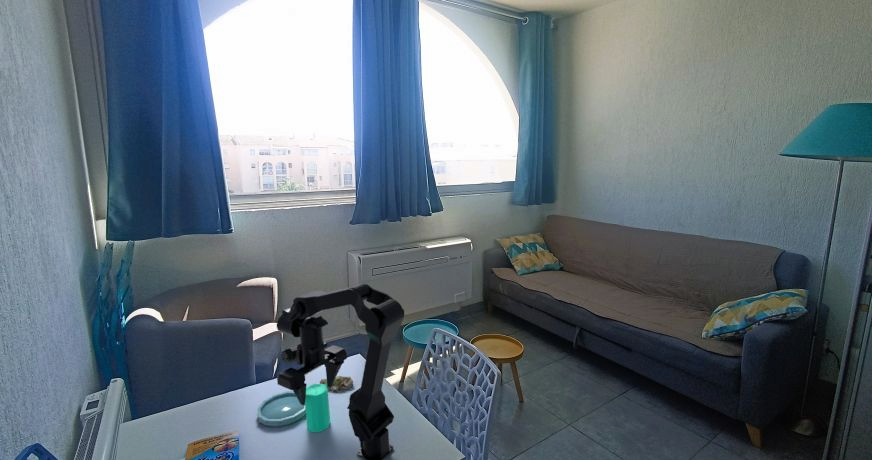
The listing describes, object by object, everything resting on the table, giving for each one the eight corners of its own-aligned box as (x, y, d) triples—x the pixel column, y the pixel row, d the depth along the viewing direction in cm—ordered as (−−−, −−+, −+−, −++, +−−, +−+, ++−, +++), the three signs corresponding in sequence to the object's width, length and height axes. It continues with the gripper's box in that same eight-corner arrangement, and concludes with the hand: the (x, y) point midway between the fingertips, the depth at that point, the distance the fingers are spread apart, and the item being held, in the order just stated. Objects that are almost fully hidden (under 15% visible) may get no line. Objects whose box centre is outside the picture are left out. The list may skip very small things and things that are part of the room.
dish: (320, 406, 115) (320, 399, 115) (279, 434, 103) (278, 427, 103) (289, 392, 122) (288, 386, 122) (247, 417, 111) (246, 410, 110)
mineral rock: (356, 371, 130) (350, 378, 122) (356, 385, 129) (350, 393, 121) (323, 373, 130) (315, 379, 122) (323, 387, 130) (315, 394, 122)
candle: (323, 433, 103) (320, 391, 101) (302, 430, 105) (299, 389, 103) (334, 419, 109) (331, 378, 107) (314, 416, 110) (310, 377, 108)
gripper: (318, 321, 115) (322, 371, 117) (260, 347, 99) (266, 404, 102) (346, 329, 109) (350, 382, 111) (289, 358, 93) (295, 418, 96)
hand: (316, 395), depth 105 cm, fingers open, 9 cm apart
